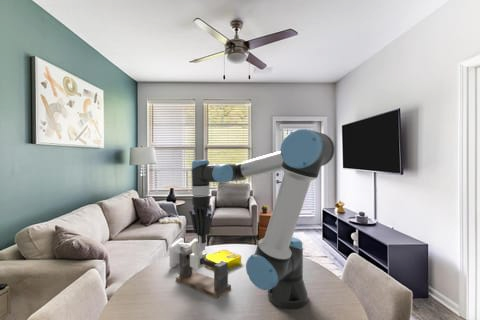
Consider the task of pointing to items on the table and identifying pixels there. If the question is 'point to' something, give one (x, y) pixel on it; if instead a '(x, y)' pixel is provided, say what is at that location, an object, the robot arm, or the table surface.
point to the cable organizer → (178, 251)
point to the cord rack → (200, 281)
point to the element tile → (225, 258)
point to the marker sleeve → (197, 257)
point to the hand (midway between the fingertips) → (202, 250)
